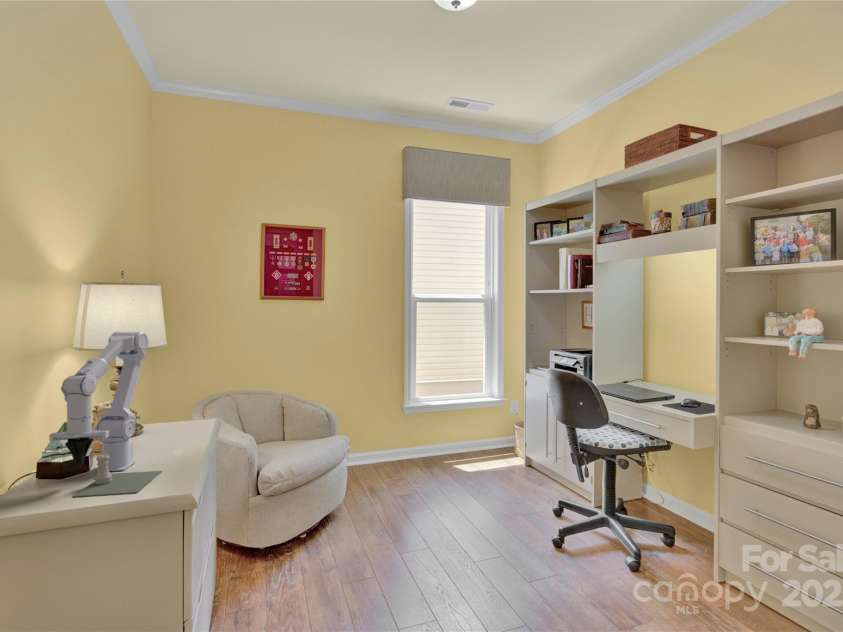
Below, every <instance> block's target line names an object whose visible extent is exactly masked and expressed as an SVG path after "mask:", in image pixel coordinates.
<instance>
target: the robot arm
mask: <svg viewBox="0 0 843 632" xmlns="http://www.w3.org/2000/svg"><path fill="white" fill-rule="evenodd" d="M107 341H108V343H107V345H106V346H105V347H104V348H103V350H102V351H101V352H100V353H99V354H98V356H97V357H92V358H89V359H87V361H86V363H85V364H84V365H83V366H81V368H80V369H79V370H78V371H77V372H75V374H74V375H69V376H67V377H66V378H65V379H63V382H62V383H61V384H62V385H61V386H60V391H61V393H62V394H63V396H64V397H63V398H64V401H65V402H66V431H62V432H61V431H60V432H52V433H50V434H49V436H48V437H49V439H48V440H49V442H55V441H66V442H65V443H64V444H65V447H66V448H67V449H68V451H69V452H70V454H71V456H72V459H73V461H74V464H75V465H74V466H82V465H83V464H85V463H86V462H85V461H86V458H87V454H88V451H89V449H90V447H91V445H92V444H93V441H94V439H98V440H99V442H101V454H102V455H103V454H108V456H109V457H110V458H109V459H108V462H109V463H108V470H109V472H117V471H125V470H126V469H128V468H129V467H130V466H132V465H133V464H135V463H136V462H137V459H134V442H133V440H132V437H133V435H134V434H135V431H136V420H137V416H136V415H135V413H133V412H132V411H131V410H130V409H131V406H132V402H133V398H134V394H135V391H136V387H137V384H138V379H139V376H140V372H141V370H142V369H141V368H142V364H143V361H144V359H145V358H146V355H147V352H148V347H149V345H150V343H149V341H150V340H149V337H148V335H147V334H146V332H145V331H142V330H141V331H114V332H112V334H110V336H109V337H108V340H107ZM116 358H119V359H121V360H122V361H123V363H122V367H121V371H120V374H119V378H118V381H117V385H116V388H115V391H114V396H113V399H112V402H111V405H110V408H108V409H107V410H105V411H103V413H101V414H100V418H99V420H98V422H97V423H96V425H95V427H94V429H93V428H92V427H93V425H92V421H93V420H92V413H93V412H92V394H93V393H95V392H96V389H97V386H98V384H99V382H100V379H101V378H102V377H103V376H104V375H105V373H107V371H108V370H109V364H110V363H112V361H113V360H114V359H116ZM97 470H98V469H96V470H95V471H96V473H97Z"/></svg>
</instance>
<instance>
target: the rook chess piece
mask: <svg viewBox="0 0 843 632" xmlns="http://www.w3.org/2000/svg"><path fill="white" fill-rule="evenodd" d="M109 458H110V457H109V456H108V454H103V455H102V453H101V454H97V457H96V459H95V460H96V461H97V464H96V465H97V469H96V470H97V472H96V474H95V476H94V478H93V480H94V481H93V482H94V483H95V484H96V485H102V484H107V483H109V482H111V481H112V479H111V477H112V475H111V474H112V473H111V471H109V470H108V463H109V462H108V459H109Z"/></svg>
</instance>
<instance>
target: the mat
mask: <svg viewBox="0 0 843 632" xmlns="http://www.w3.org/2000/svg"><path fill="white" fill-rule="evenodd" d="M162 472H163V471H162V470H153V471H152V470H151V471H136V472H135V471H134V472H133V471H131V472H122V473H121V472H115V473H110V474H111V475H112V477H111V479H112V481H111V482H109V483H107V484H102V485H96V484H95V483H94V481H93V482H91V483H90V484H88V485H87V486H86V487H84V488H82V489H81V490H80V491H77V493H74V494H73V495H72V496H71V497H72V498H83V497H84V498H85V497H97V496H98V497H99V496H113V495H114V496H115V495H129V494H131V495H132V494H138V493H139V492H140V491H142V489H144V488H145V487H146V486H147V485H149V484H150V482H151V483H152V481H153V480H154V479H156V477H157V476H159V475H160V474H161V473H162Z"/></svg>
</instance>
